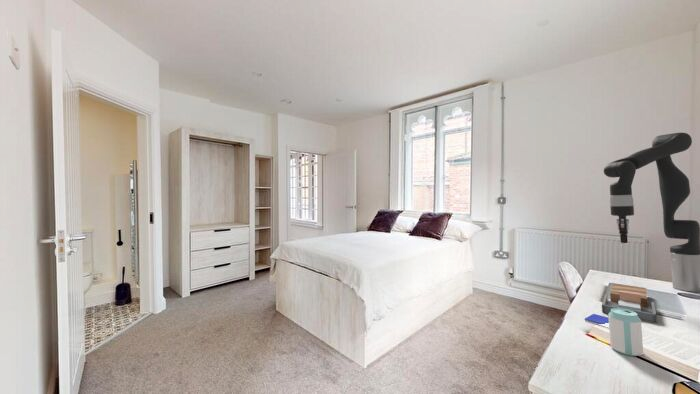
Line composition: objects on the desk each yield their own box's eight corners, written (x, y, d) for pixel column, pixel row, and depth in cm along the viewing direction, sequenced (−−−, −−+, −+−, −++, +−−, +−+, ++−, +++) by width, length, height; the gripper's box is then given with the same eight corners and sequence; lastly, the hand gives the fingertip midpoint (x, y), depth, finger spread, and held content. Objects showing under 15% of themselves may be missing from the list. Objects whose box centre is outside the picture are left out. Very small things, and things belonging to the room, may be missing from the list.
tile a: (619, 290, 115) (619, 291, 113) (640, 293, 110) (640, 294, 109) (620, 304, 115) (620, 306, 113) (641, 307, 110) (641, 309, 109)
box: (605, 301, 119) (604, 294, 120) (654, 309, 109) (654, 302, 109) (602, 312, 109) (601, 305, 109) (656, 323, 98) (656, 314, 98)
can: (609, 342, 87) (606, 305, 87) (640, 349, 83) (638, 310, 83) (611, 352, 82) (609, 313, 82) (645, 360, 77) (642, 318, 77)
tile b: (618, 304, 108) (619, 311, 108) (640, 308, 104) (641, 314, 104) (618, 300, 113) (618, 306, 112) (639, 303, 108) (640, 309, 108)
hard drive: (638, 324, 96) (593, 313, 106) (629, 331, 92) (584, 318, 102) (638, 329, 96) (594, 317, 106) (630, 335, 92) (584, 322, 102)
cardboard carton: (613, 291, 131) (612, 283, 131) (646, 296, 123) (646, 287, 123) (610, 302, 118) (610, 293, 118) (647, 308, 110) (647, 298, 110)
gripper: (633, 205, 116) (636, 245, 116) (633, 204, 125) (636, 241, 125) (609, 205, 121) (611, 244, 121) (611, 204, 130) (613, 240, 130)
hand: (624, 242), depth 123 cm, fingers closed
